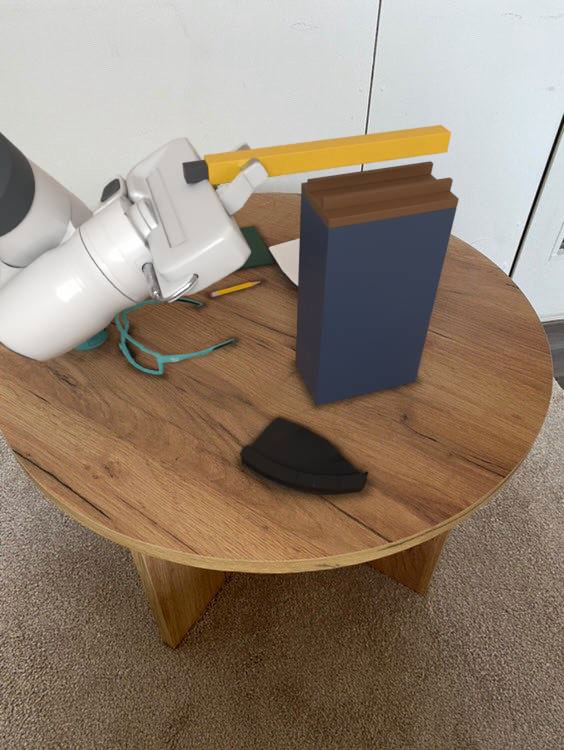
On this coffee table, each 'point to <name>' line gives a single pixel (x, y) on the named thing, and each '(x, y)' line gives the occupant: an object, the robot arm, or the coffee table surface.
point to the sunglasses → (160, 358)
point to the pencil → (233, 289)
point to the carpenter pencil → (321, 154)
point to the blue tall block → (369, 276)
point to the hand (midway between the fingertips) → (257, 158)
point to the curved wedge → (300, 461)
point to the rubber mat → (255, 249)
